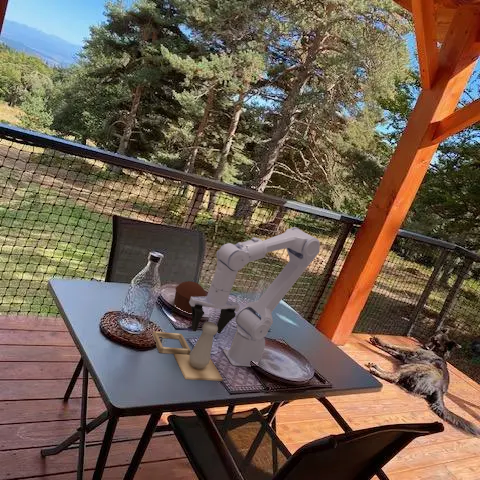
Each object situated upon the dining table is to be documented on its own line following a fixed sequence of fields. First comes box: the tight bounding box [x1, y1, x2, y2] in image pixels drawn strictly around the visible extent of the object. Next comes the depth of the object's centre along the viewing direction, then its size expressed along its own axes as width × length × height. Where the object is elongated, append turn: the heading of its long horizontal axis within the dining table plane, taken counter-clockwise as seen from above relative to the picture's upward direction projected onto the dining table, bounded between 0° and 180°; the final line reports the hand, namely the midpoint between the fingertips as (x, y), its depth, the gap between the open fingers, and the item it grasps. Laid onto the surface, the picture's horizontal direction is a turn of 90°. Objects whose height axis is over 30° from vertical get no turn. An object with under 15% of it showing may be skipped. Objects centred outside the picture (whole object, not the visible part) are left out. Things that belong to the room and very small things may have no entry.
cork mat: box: [173, 354, 224, 382], centre depth 127 cm, size 11×11×1 cm
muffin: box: [173, 280, 207, 313], centre depth 161 cm, size 12×11×10 cm
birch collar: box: [151, 330, 192, 355], centre depth 134 cm, size 9×9×2 cm
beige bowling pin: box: [189, 321, 218, 369], centre depth 126 cm, size 6×6×13 cm
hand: (205, 330), depth 127 cm, fingers open, 7 cm apart
